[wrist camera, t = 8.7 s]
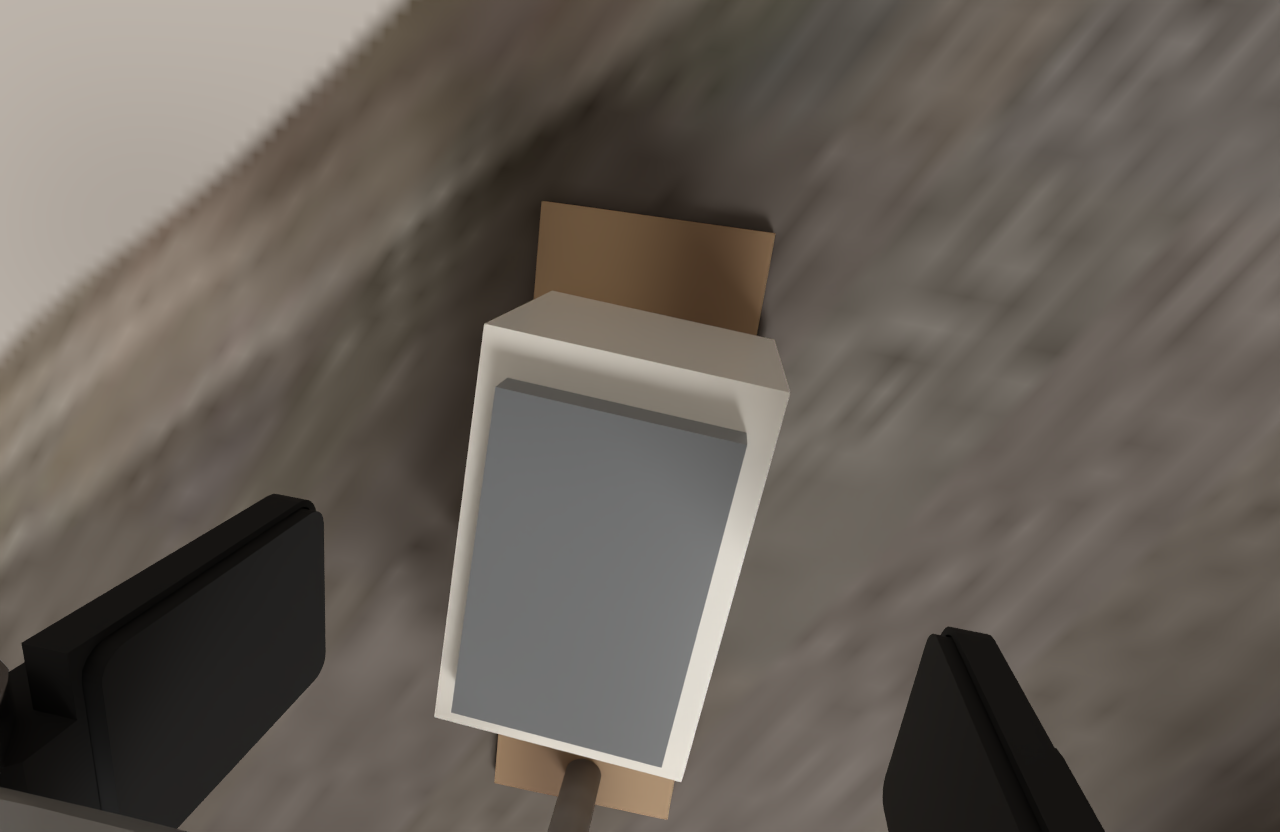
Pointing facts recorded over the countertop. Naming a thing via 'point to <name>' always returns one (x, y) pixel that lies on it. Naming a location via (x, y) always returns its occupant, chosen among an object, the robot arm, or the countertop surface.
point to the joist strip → (658, 283)
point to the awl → (576, 797)
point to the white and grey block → (604, 525)
